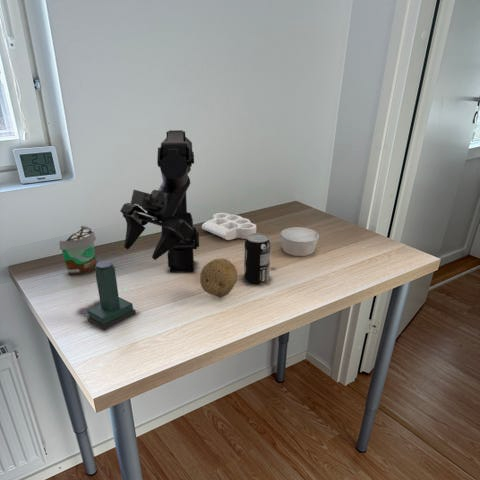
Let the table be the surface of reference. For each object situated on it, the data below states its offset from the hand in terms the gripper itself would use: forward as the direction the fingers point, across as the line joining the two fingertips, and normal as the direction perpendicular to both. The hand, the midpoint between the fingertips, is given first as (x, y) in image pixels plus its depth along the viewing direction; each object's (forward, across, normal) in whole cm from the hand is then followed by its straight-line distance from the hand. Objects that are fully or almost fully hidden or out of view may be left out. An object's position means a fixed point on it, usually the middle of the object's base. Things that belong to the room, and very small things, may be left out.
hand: (139, 253), depth 106 cm
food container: (+7, -26, +11) cm, 29 cm away
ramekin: (-26, +13, +44) cm, 53 cm away
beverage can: (-10, +14, +28) cm, 33 cm away
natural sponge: (0, +13, +18) cm, 22 cm away
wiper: (+16, 0, +2) cm, 16 cm away
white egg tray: (-21, -12, +34) cm, 42 cm away
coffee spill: (+16, -6, +2) cm, 17 cm away
